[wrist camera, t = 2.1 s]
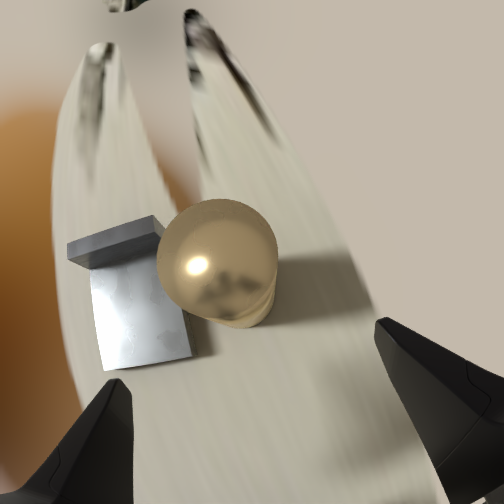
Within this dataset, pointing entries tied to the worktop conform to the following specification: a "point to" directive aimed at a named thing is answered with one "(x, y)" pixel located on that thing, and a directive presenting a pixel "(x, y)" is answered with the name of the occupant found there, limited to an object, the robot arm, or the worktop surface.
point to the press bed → (132, 296)
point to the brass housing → (220, 262)
